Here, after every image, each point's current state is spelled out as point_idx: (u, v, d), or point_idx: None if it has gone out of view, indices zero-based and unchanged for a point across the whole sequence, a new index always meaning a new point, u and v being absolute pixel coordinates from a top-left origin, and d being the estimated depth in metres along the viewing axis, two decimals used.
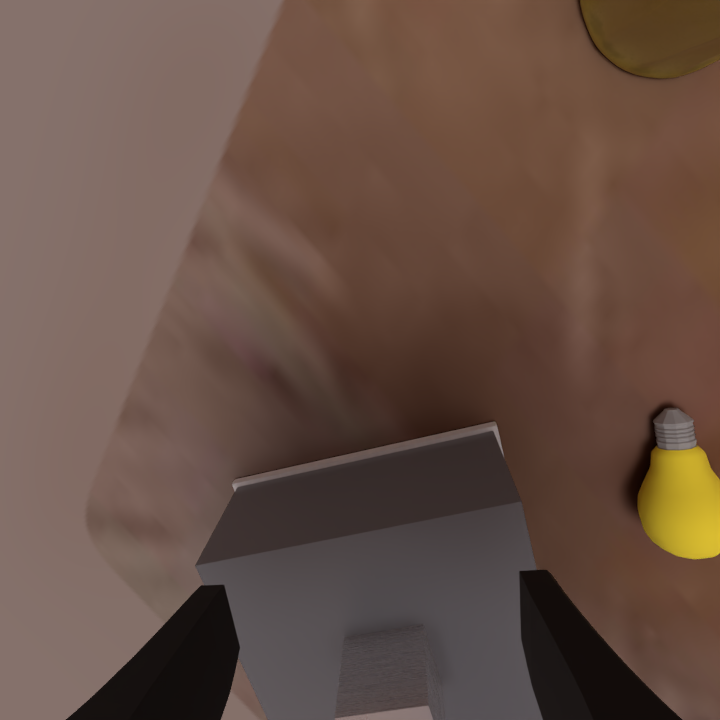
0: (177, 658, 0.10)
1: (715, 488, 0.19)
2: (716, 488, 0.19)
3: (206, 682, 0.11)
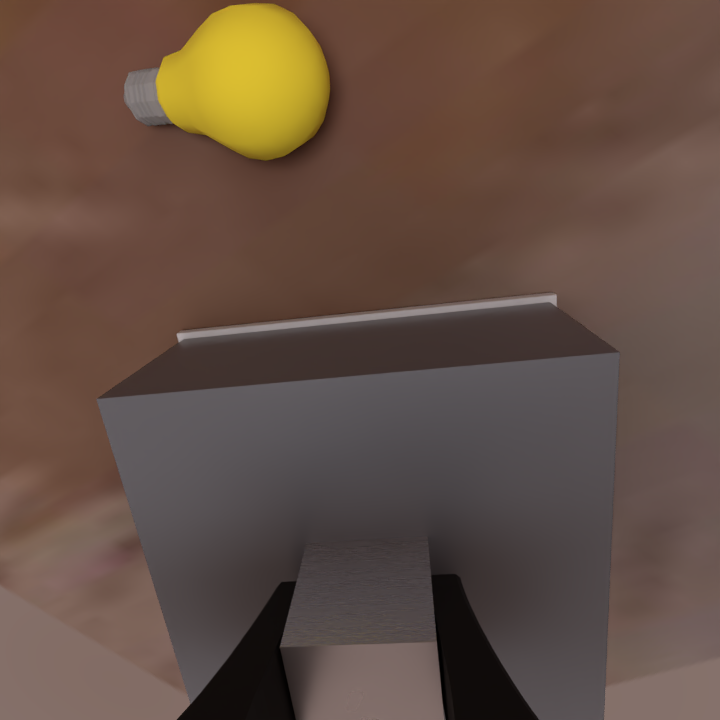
0: (276, 655, 0.10)
1: (188, 52, 0.12)
2: (188, 49, 0.12)
3: None
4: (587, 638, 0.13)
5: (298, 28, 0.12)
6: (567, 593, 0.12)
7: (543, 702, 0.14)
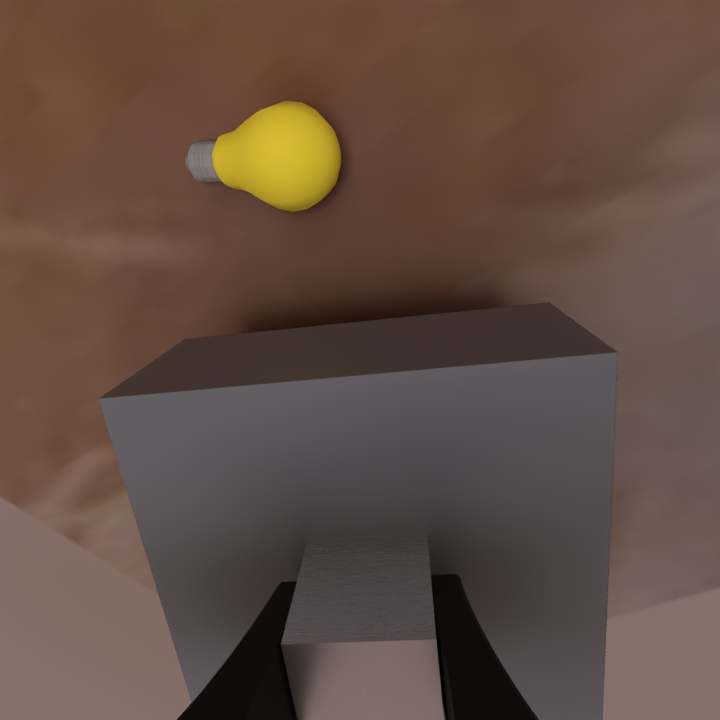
0: (276, 655, 0.10)
1: (239, 137, 0.16)
2: (239, 135, 0.16)
3: None
4: (586, 637, 0.13)
5: (320, 122, 0.16)
6: (566, 591, 0.12)
7: (542, 700, 0.14)
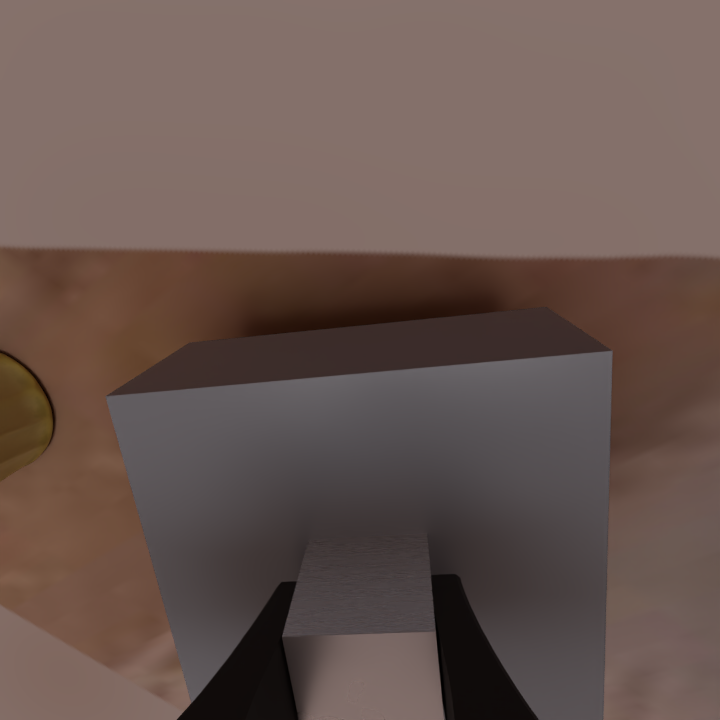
0: (276, 655, 0.10)
1: None
2: None
3: None
4: (586, 637, 0.13)
5: None
6: (565, 591, 0.13)
7: (542, 702, 0.14)
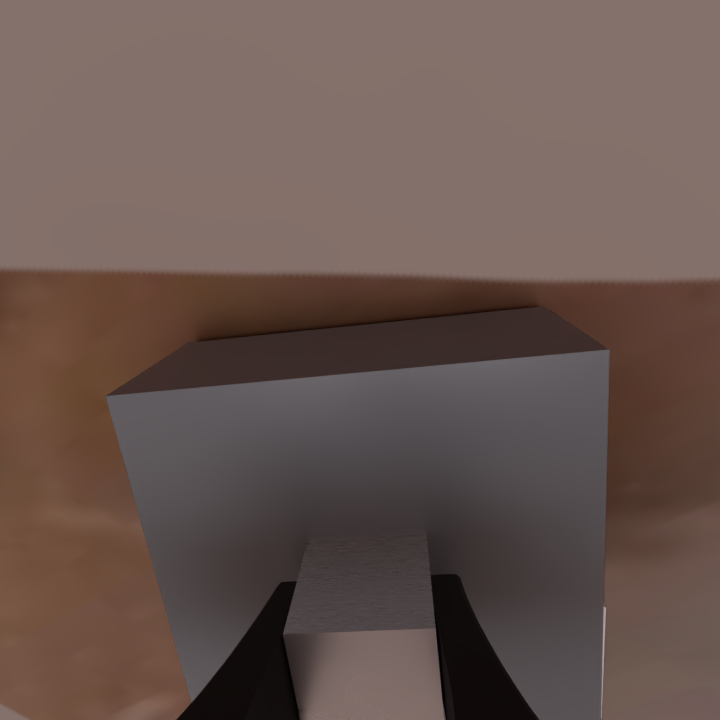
0: (276, 655, 0.10)
1: None
2: None
3: None
4: (583, 633, 0.13)
5: None
6: (563, 587, 0.13)
7: (541, 699, 0.14)
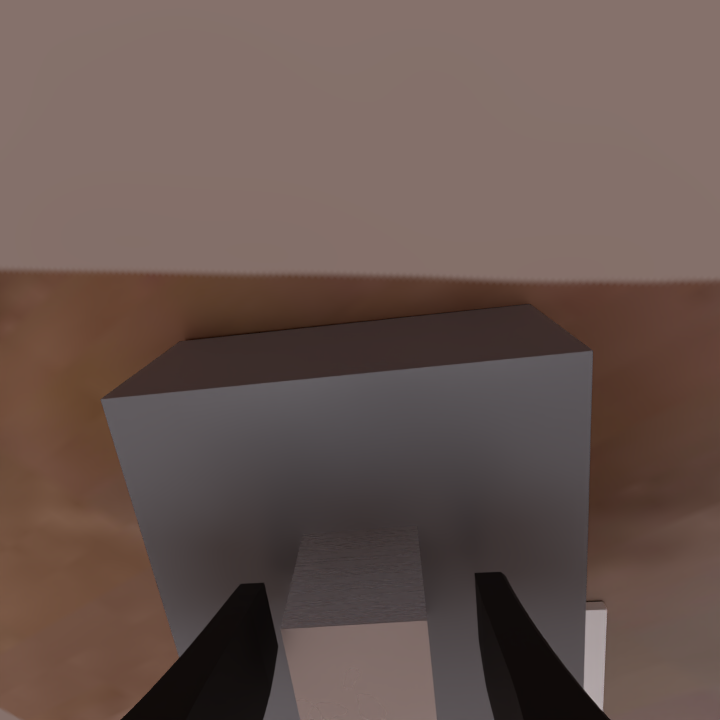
0: (226, 656, 0.10)
1: None
2: None
3: (251, 681, 0.11)
4: (567, 619, 0.14)
5: None
6: (548, 577, 0.13)
7: None
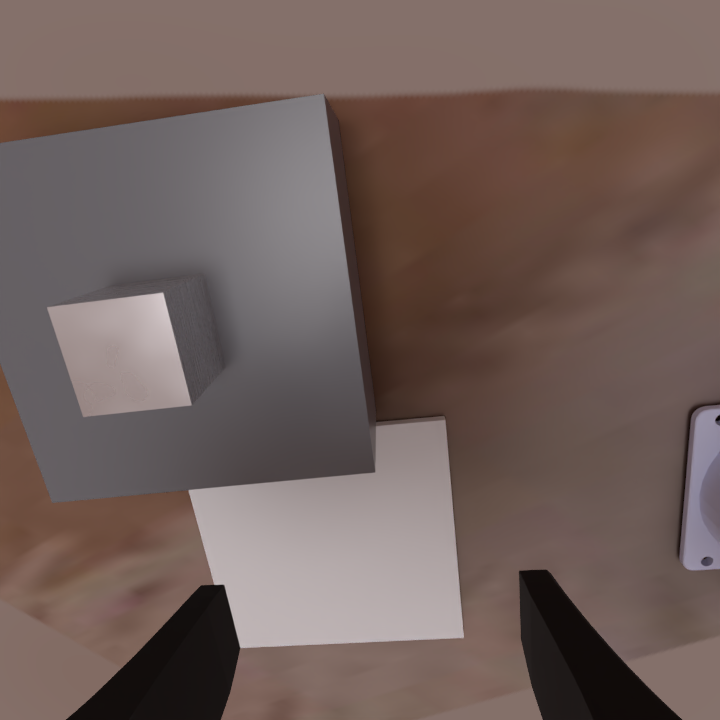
0: (177, 658, 0.10)
1: None
2: None
3: (206, 682, 0.11)
4: (345, 366, 0.16)
5: None
6: (322, 322, 0.15)
7: (321, 431, 0.16)
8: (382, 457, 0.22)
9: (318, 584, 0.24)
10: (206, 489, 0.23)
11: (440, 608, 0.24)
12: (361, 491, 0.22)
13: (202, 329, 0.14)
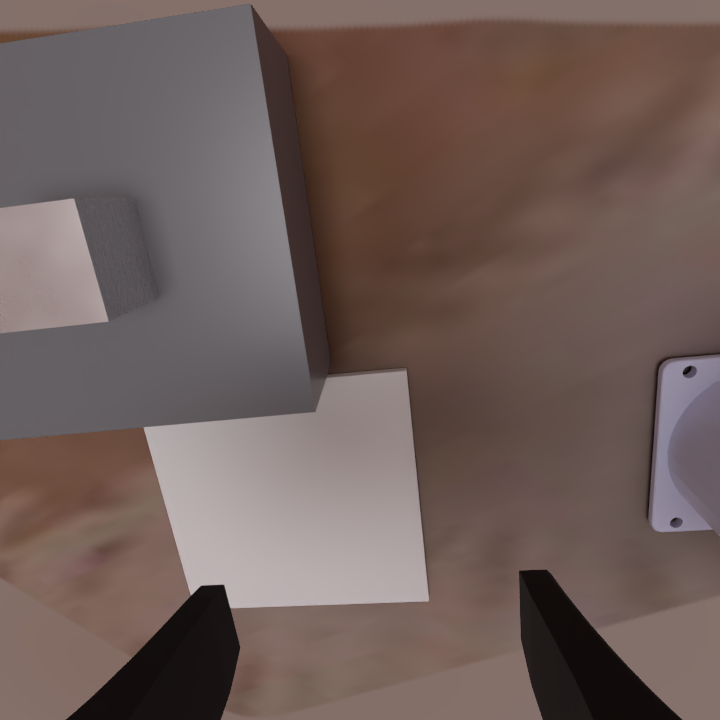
0: (177, 658, 0.10)
1: None
2: None
3: (206, 682, 0.11)
4: (281, 297, 0.15)
5: None
6: (256, 250, 0.15)
7: (258, 367, 0.16)
8: (343, 410, 0.21)
9: (280, 543, 0.24)
10: (166, 442, 0.23)
11: (404, 570, 0.24)
12: (322, 445, 0.22)
13: (128, 251, 0.14)
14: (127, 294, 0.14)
